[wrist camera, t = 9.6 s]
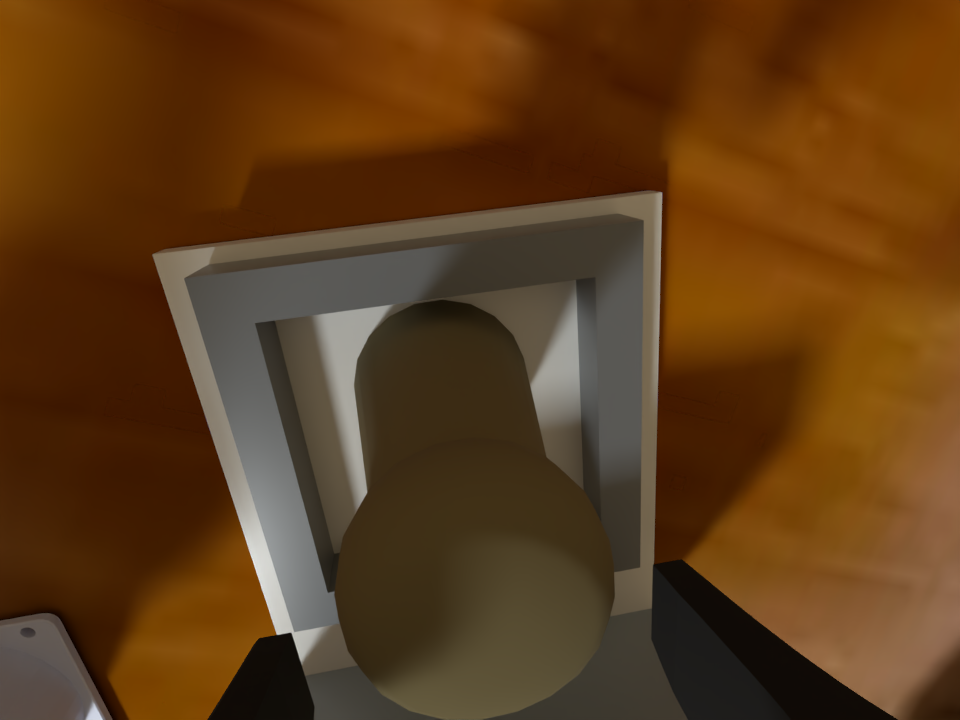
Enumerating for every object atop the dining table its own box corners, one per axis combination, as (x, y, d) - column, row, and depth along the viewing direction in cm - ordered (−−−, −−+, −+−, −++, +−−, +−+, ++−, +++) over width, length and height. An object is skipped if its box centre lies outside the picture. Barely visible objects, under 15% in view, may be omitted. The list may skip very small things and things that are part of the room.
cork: (382, 275, 17) (355, 450, 7) (551, 329, 19) (732, 539, 8) (333, 436, 19) (255, 762, 9) (491, 474, 20) (582, 791, 10)
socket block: (300, 674, 24) (237, 1001, 15) (165, 248, 17) (-118, 360, 8) (643, 607, 25) (782, 866, 16) (649, 190, 18) (900, 225, 9)
